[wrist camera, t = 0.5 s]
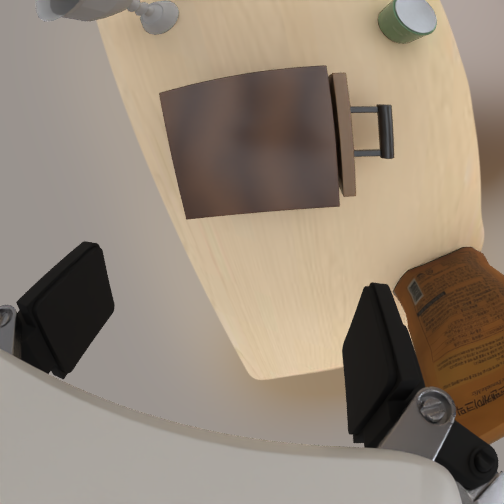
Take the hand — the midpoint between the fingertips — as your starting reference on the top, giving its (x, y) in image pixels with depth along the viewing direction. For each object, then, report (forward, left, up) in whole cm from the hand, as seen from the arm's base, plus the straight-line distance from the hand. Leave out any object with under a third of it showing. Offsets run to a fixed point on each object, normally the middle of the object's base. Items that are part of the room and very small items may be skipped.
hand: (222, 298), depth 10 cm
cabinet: (-3, -1, -27) cm, 27 cm away
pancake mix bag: (+17, +23, -27) cm, 40 cm away
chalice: (-21, -11, -27) cm, 36 cm away
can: (-16, +17, -27) cm, 35 cm away
